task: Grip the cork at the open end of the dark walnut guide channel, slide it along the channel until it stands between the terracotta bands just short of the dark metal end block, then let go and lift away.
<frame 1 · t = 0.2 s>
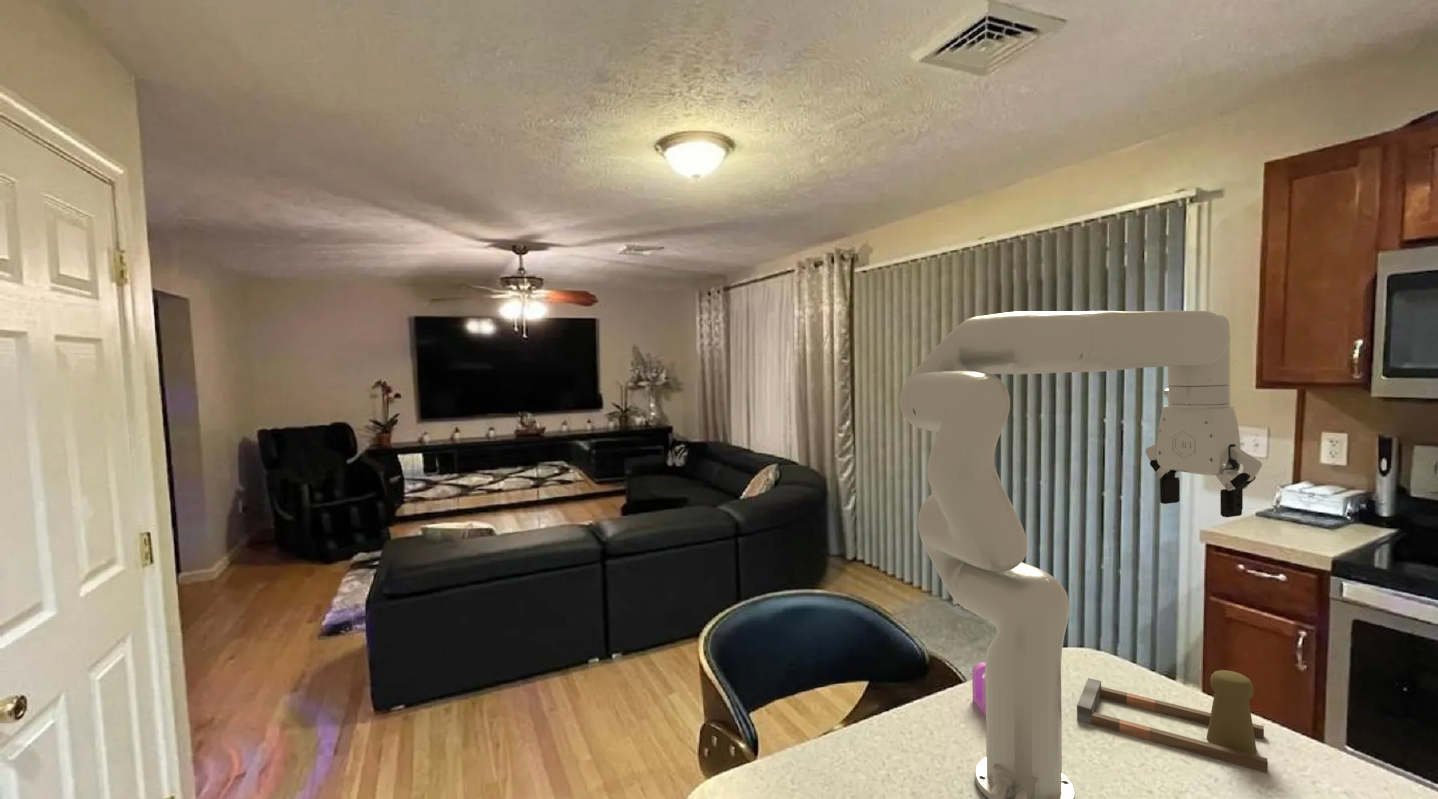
hand: (1199, 509, 98), 36 cm above the countertop, tool pointing down, fingers open, 9 cm apart
bracket: (1016, 709, 111), on the countertop
cork: (1231, 745, 98), on the countertop
guide channel: (1182, 731, 102), on the countertop
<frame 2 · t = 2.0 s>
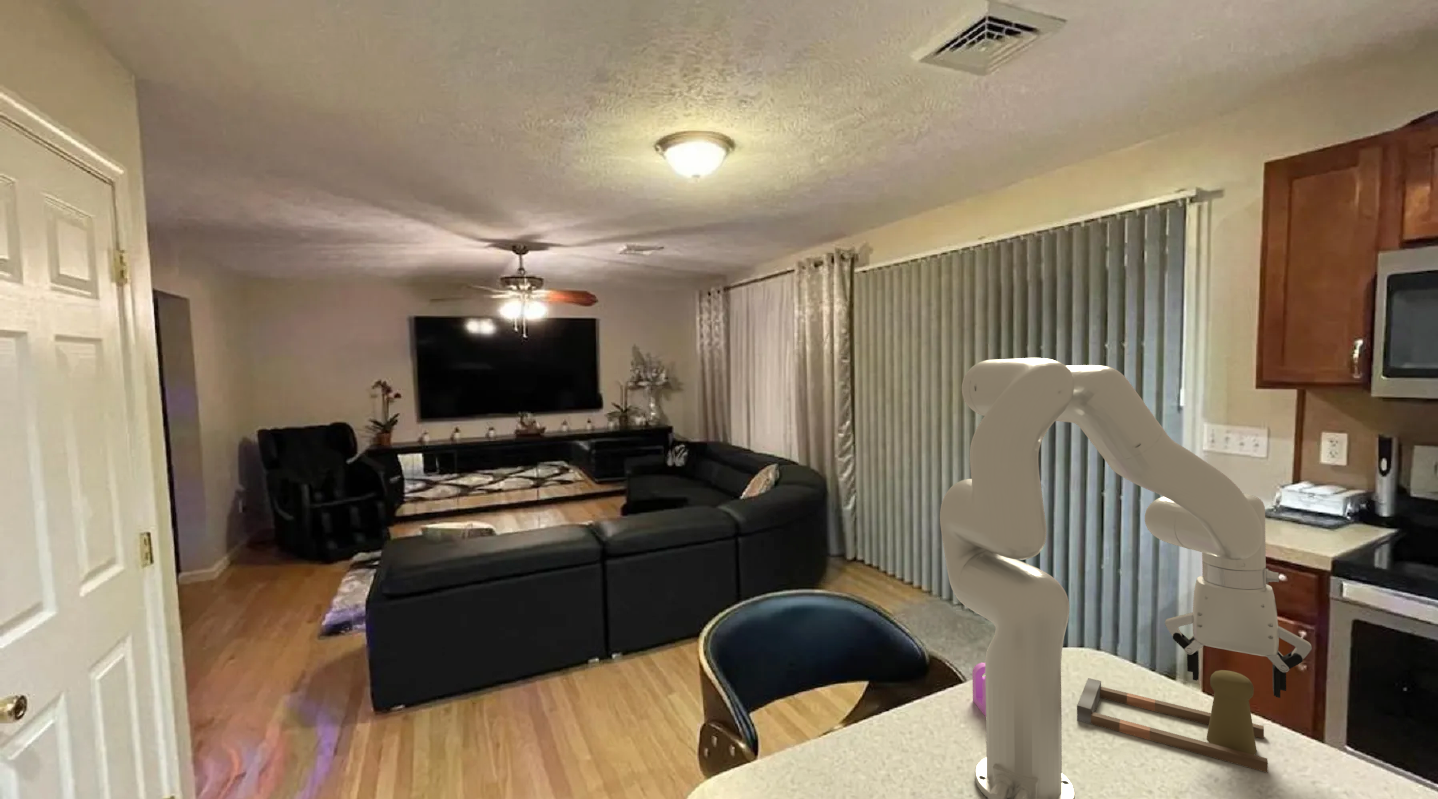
hand: (1235, 684, 98), 9 cm above the countertop, tool pointing down, fingers open, 9 cm apart
nothing on the countertop moved.
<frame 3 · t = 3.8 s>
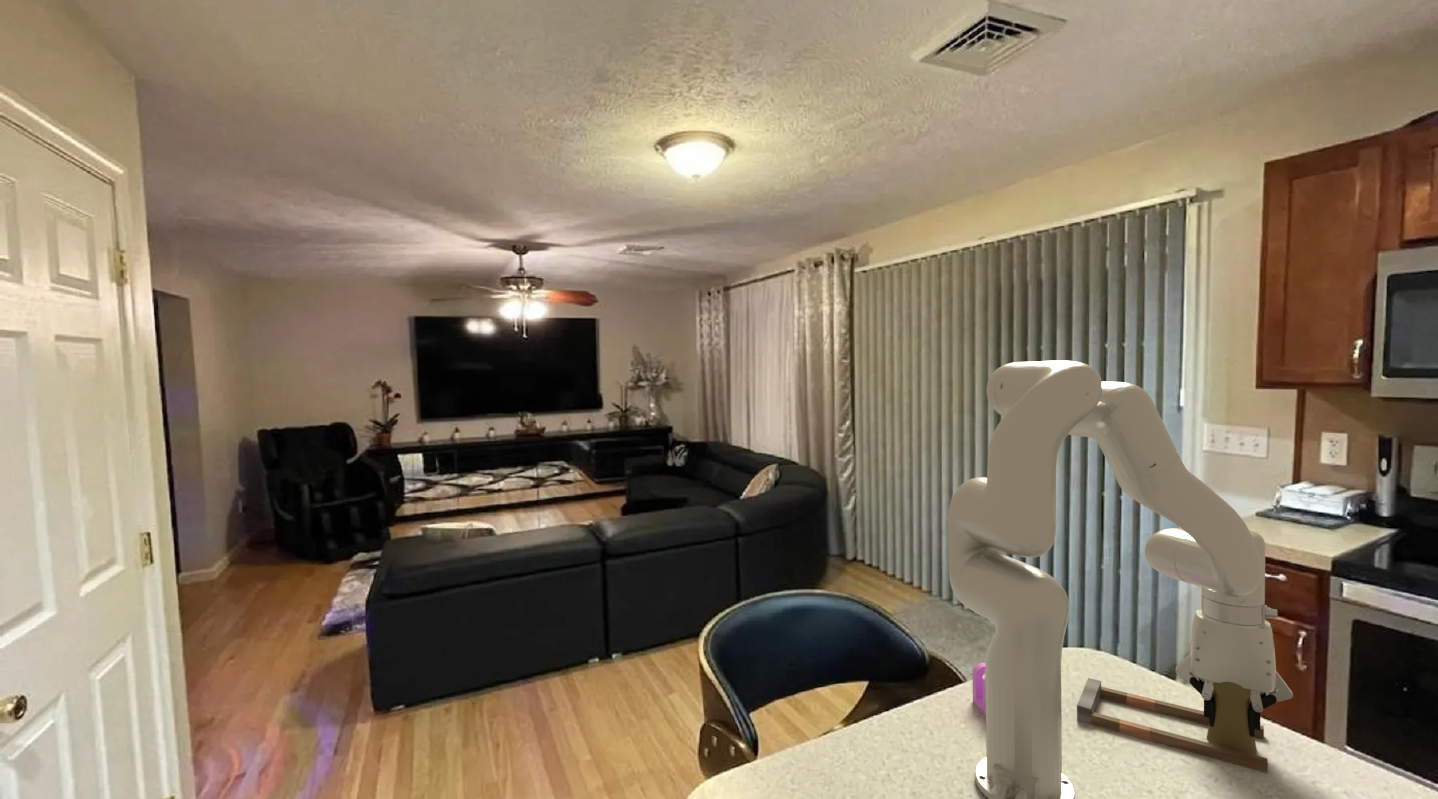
hand: (1231, 726, 98), 3 cm above the countertop, tool pointing down, fingers closed on cork, 4 cm apart
cork: (1231, 745, 98), on the countertop, touching gripper
everything else where it was.
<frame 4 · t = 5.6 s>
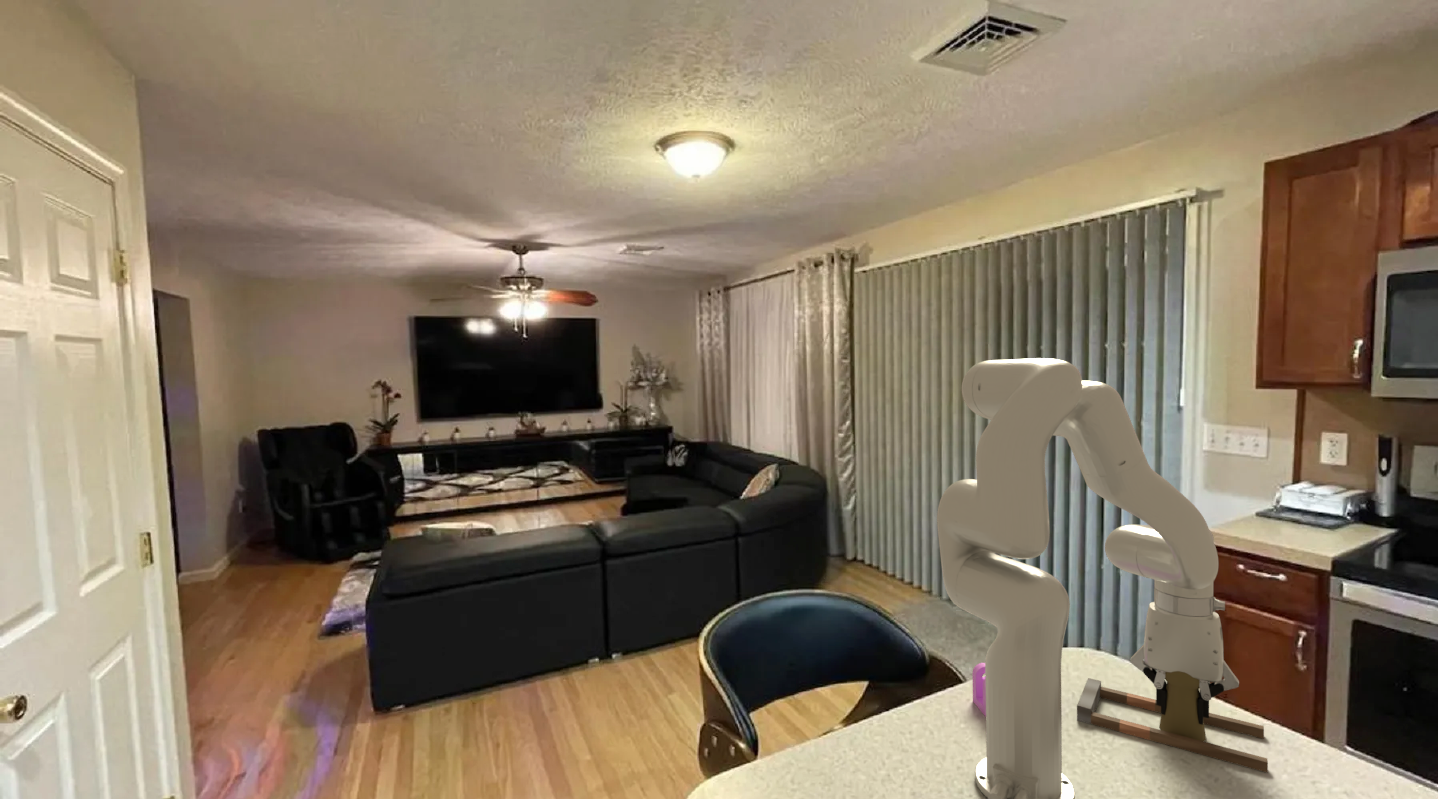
hand: (1182, 714, 102), 3 cm above the countertop, tool pointing down, fingers closed on cork, 4 cm apart
cork: (1182, 733, 102), on the countertop, touching gripper
everything else where it was.
when the fingers open (3 cm above the countertop, at t = 7.8 s): cork stays where it is, on the countertop.
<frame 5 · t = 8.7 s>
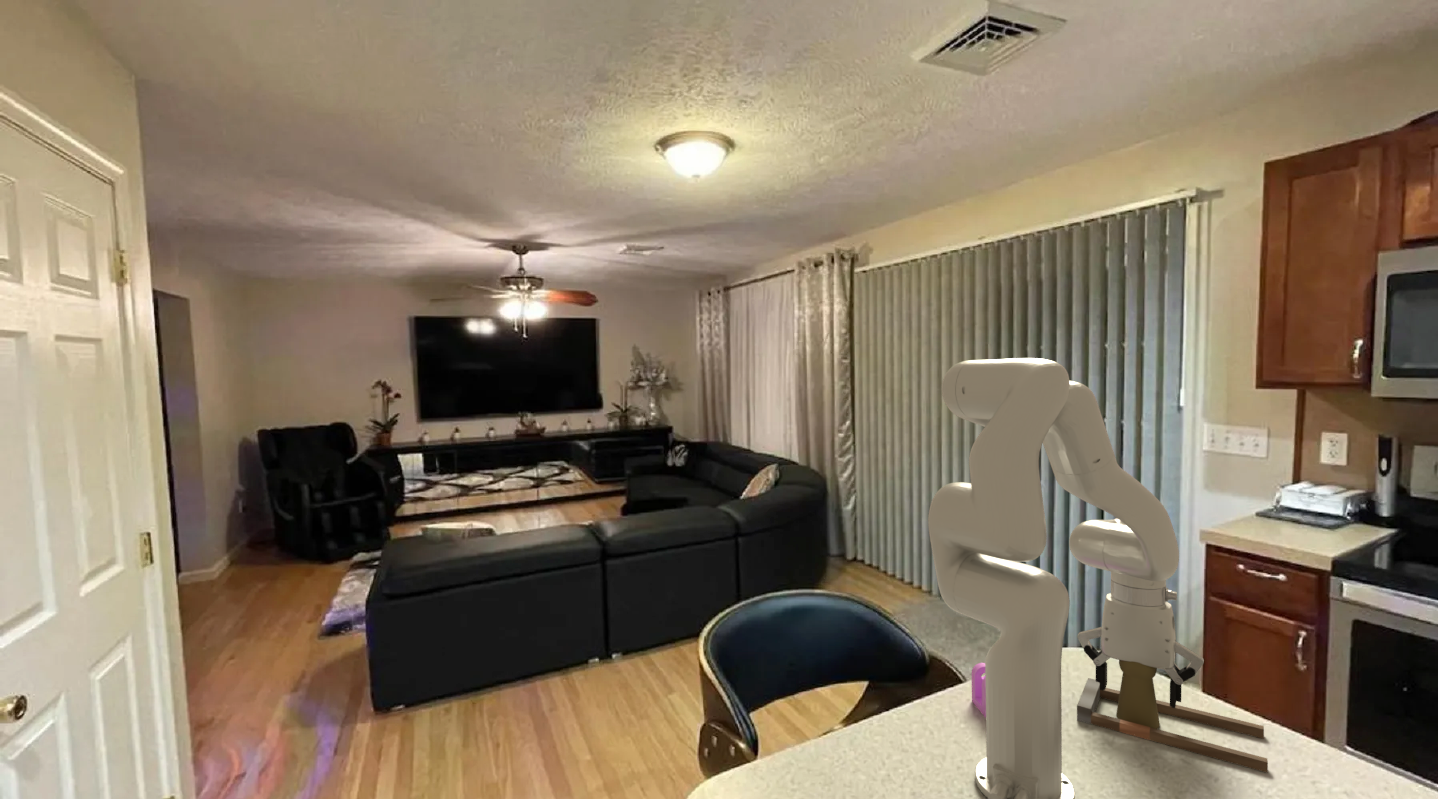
hand: (1137, 695, 105), 4 cm above the countertop, tool pointing down, fingers open, 9 cm apart
cork: (1137, 721, 106), on the countertop
everything else where it was.
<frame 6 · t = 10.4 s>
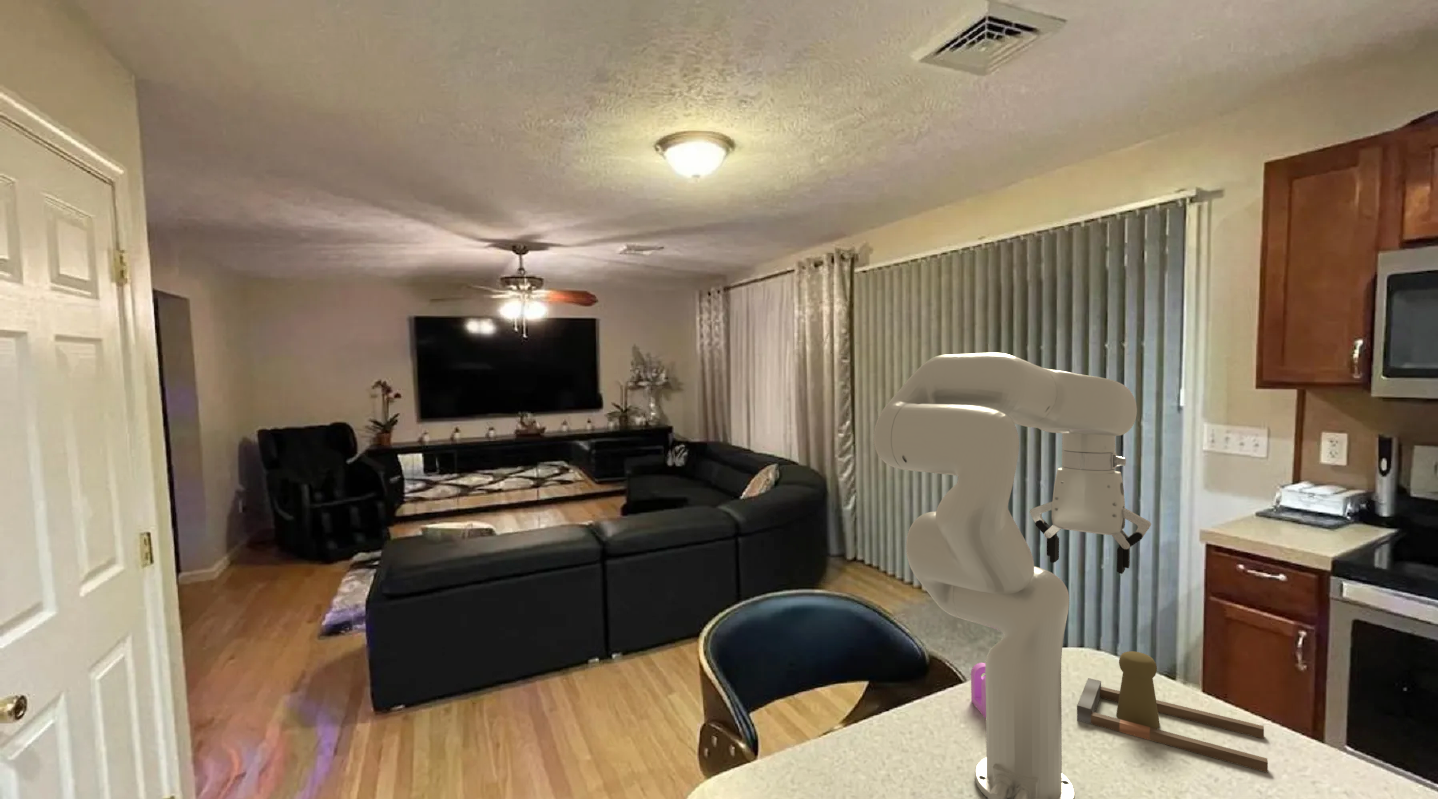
hand: (1086, 566, 105), 26 cm above the countertop, tool pointing down, fingers open, 9 cm apart
nothing on the countertop moved.
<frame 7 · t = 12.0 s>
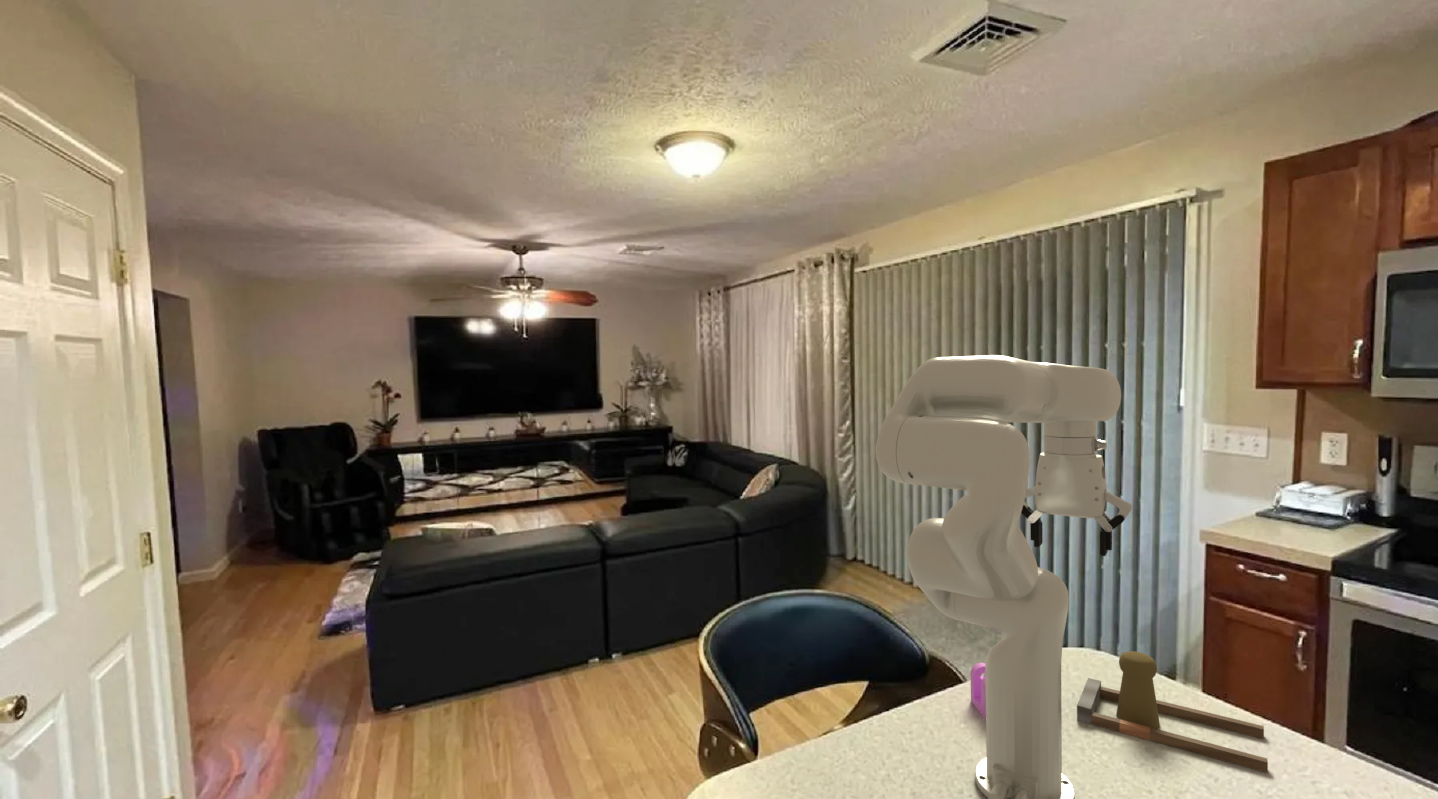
hand: (1070, 549, 106), 28 cm above the countertop, tool pointing down, fingers open, 9 cm apart
nothing on the countertop moved.
at the end: cork 0.1 cm from the target spot, on the countertop; cork tilted 0°; the gripper is holding nothing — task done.
